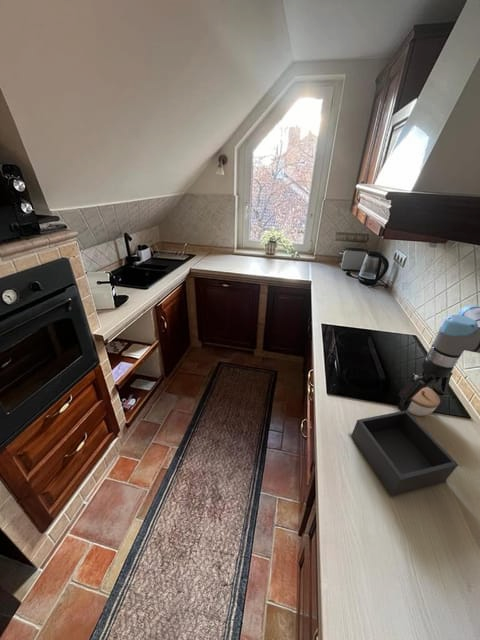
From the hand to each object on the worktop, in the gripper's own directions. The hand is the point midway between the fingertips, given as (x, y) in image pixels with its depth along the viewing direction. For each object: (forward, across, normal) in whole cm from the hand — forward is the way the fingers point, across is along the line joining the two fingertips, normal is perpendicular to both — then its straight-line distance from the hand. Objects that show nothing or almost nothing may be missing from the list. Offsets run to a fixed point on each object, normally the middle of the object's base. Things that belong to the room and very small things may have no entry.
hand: (414, 407), depth 92 cm
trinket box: (+1, 0, 0) cm, 1 cm away
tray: (+1, +20, +14) cm, 25 cm away
